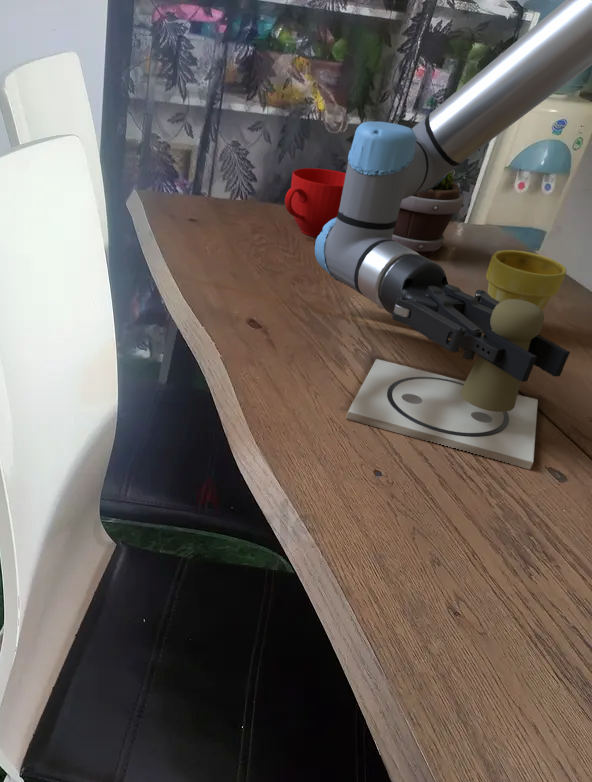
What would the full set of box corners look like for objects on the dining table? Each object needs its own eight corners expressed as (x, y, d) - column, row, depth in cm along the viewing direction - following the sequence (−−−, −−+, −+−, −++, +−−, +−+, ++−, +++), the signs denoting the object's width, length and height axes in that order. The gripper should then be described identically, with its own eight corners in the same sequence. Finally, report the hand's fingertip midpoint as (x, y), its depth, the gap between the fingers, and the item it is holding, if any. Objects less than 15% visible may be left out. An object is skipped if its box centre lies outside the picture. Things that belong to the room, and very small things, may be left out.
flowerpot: (381, 231, 146) (408, 119, 134) (457, 249, 141) (491, 135, 129) (356, 247, 136) (382, 127, 124) (436, 268, 131) (472, 144, 119)
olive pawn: (507, 417, 79) (546, 320, 72) (453, 398, 81) (486, 302, 75) (521, 398, 83) (559, 304, 76) (469, 380, 85) (501, 288, 79)
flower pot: (547, 345, 106) (574, 278, 100) (475, 333, 107) (498, 266, 101) (534, 319, 114) (558, 256, 109) (467, 308, 115) (488, 245, 109)
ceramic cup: (255, 229, 138) (263, 172, 132) (313, 219, 148) (323, 165, 142) (307, 250, 131) (317, 191, 125) (364, 237, 141) (376, 182, 135)
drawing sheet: (535, 406, 90) (538, 398, 89) (530, 470, 77) (534, 460, 77) (374, 365, 94) (376, 357, 94) (346, 419, 82) (348, 410, 81)
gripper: (446, 307, 96) (588, 389, 80) (339, 317, 89) (471, 410, 73) (464, 249, 92) (618, 324, 76) (353, 256, 85) (496, 340, 69)
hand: (545, 366), depth 74 cm, fingers closed on olive pawn, 4 cm apart
